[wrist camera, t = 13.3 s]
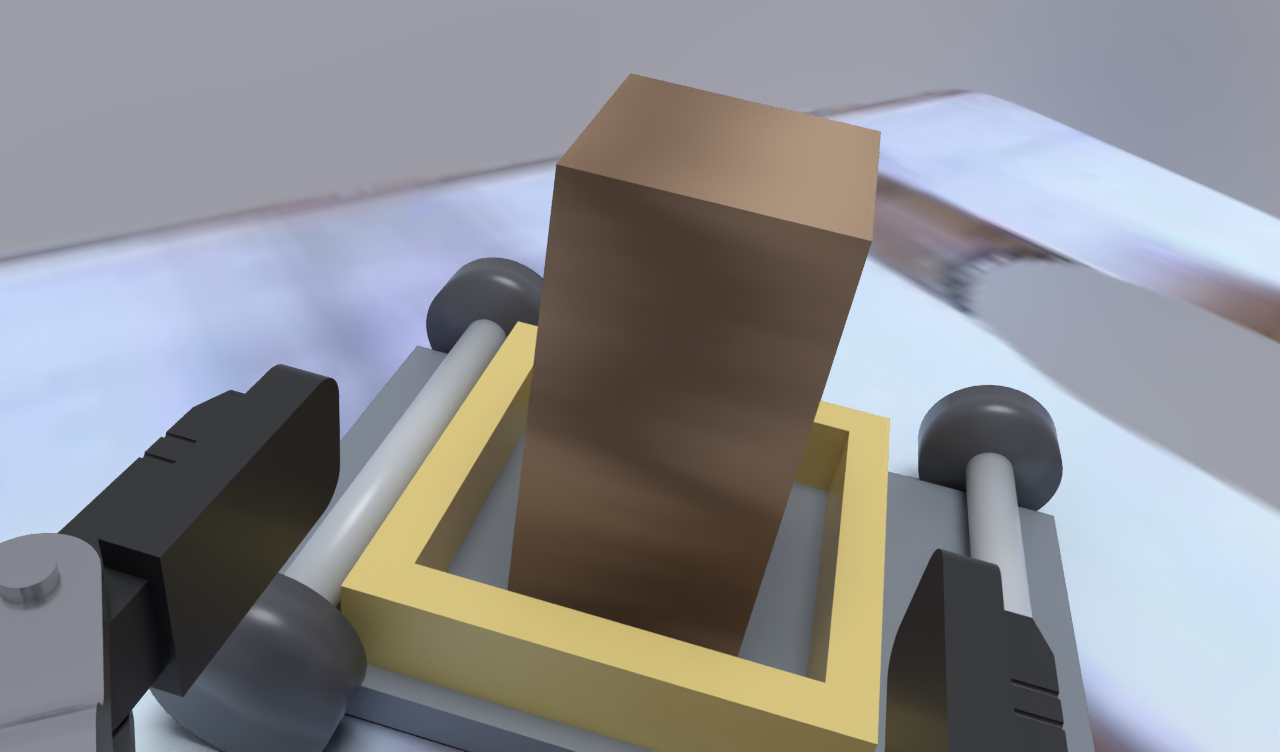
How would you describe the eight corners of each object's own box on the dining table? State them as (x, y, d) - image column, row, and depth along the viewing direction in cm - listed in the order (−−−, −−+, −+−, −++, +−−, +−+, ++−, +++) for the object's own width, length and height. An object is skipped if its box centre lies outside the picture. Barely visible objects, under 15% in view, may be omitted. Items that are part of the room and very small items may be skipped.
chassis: (1034, 507, 28) (1085, 407, 26) (1113, 1034, 17) (1216, 929, 15) (436, 347, 30) (441, 242, 28) (143, 727, 19) (116, 595, 17)
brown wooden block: (763, 512, 25) (880, 131, 19) (734, 666, 21) (872, 241, 15) (571, 459, 25) (630, 73, 20) (506, 600, 21) (556, 164, 16)
